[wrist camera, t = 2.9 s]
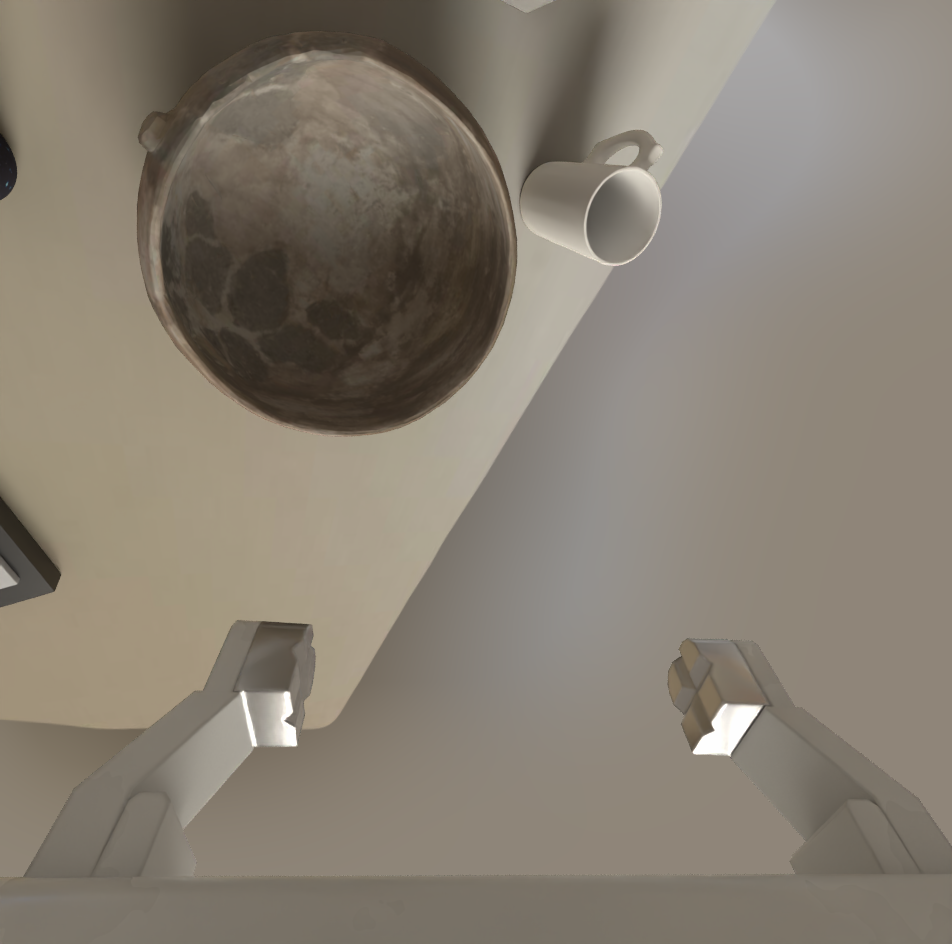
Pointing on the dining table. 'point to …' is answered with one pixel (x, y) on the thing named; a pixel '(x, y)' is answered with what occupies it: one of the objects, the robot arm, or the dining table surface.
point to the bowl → (326, 233)
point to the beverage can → (6, 169)
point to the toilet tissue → (527, 4)
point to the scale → (22, 563)
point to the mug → (597, 201)
